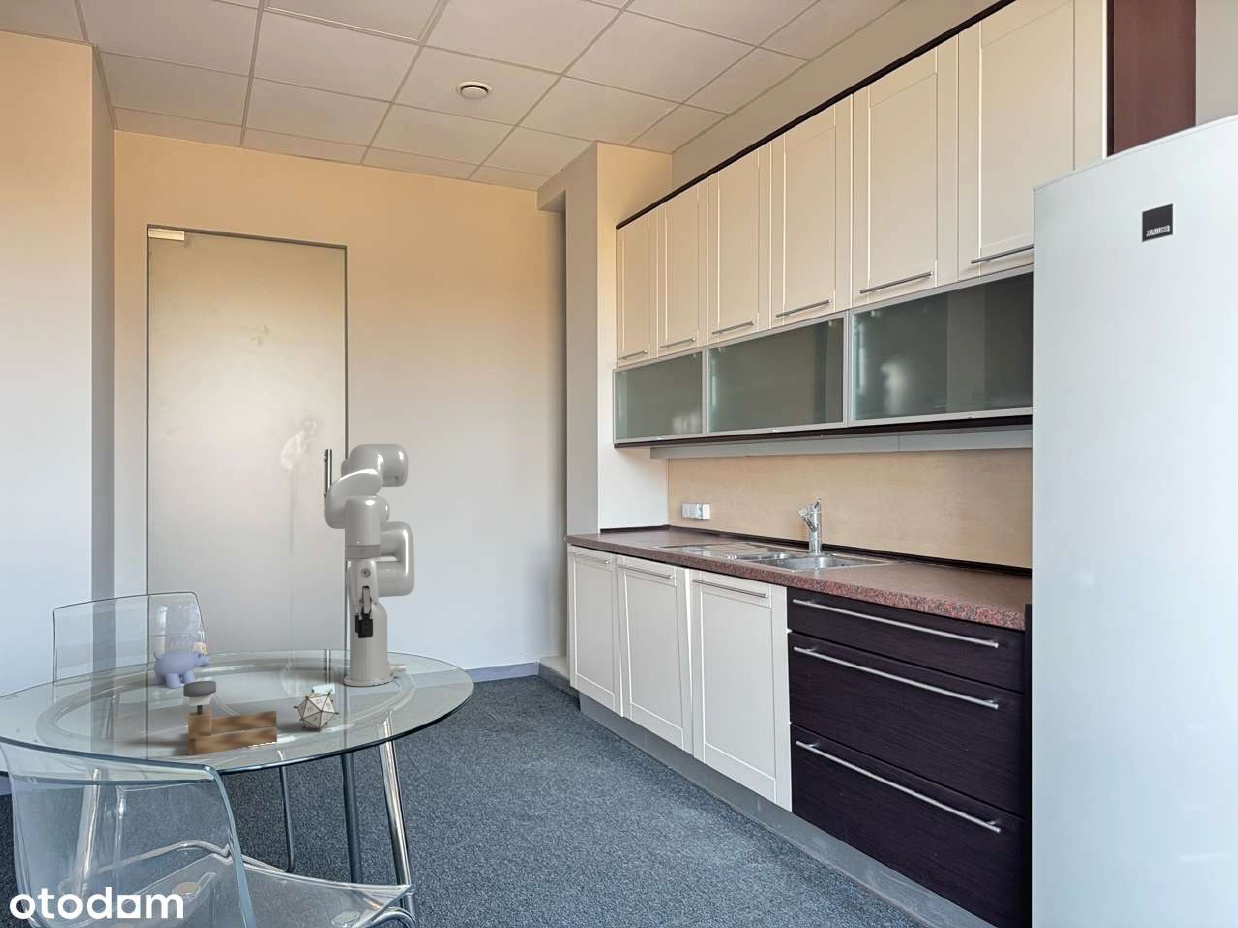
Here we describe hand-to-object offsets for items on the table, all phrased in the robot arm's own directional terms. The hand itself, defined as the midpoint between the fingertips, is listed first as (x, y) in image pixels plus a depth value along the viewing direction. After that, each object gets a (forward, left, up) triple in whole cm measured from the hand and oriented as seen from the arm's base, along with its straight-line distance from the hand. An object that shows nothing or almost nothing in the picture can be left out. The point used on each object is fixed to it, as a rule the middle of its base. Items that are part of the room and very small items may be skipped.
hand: (363, 633), depth 182 cm
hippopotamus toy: (+41, -59, -20) cm, 75 cm away
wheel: (+33, 0, -11) cm, 34 cm away
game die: (+10, 0, -20) cm, 22 cm away
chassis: (+26, 0, -20) cm, 33 cm away
